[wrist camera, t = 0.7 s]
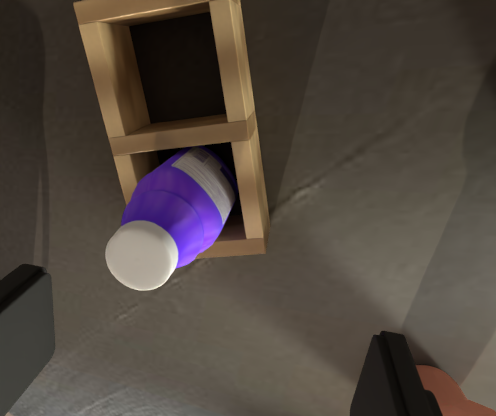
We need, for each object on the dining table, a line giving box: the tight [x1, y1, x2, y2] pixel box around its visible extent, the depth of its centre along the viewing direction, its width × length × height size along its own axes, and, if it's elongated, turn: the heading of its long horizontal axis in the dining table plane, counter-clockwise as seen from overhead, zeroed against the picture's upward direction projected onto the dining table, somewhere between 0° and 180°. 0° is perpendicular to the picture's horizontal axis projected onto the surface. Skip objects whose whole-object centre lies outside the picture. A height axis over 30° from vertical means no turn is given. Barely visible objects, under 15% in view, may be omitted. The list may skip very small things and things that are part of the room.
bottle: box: [105, 145, 238, 290], centre depth 31 cm, size 7×6×17 cm
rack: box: [73, 0, 270, 258], centre depth 35 cm, size 22×12×6 cm, turn 8°
